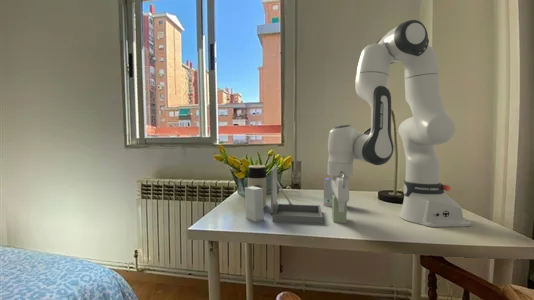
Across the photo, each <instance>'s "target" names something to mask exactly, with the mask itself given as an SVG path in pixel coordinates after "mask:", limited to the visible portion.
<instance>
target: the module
mask: <svg viewBox="0 0 534 300" xmlns="http://www.w3.org/2000/svg"><path fill="white" fill-rule="evenodd" d="M338 206H339V202H338V200H337V198H336V196H335V194H334V195H333V198H332V206H331V207H332V208H331V209H332V212H331V219H332V223H336V224H337V223H341V224H342V223H343V224H347V215H348V214H347V212H348V209H347V207H348V202H345V206H344V212H339V210H338Z"/></svg>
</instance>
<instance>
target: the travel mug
mask: <svg viewBox="0 0 534 300" xmlns="http://www.w3.org/2000/svg"><path fill="white" fill-rule="evenodd" d="M248 168H249V169H248V172H247V187H251V186H254V187H259V188H263V208H266V207H267V172H266V165H263V164H253V165H252V164H251V165H248Z"/></svg>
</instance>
